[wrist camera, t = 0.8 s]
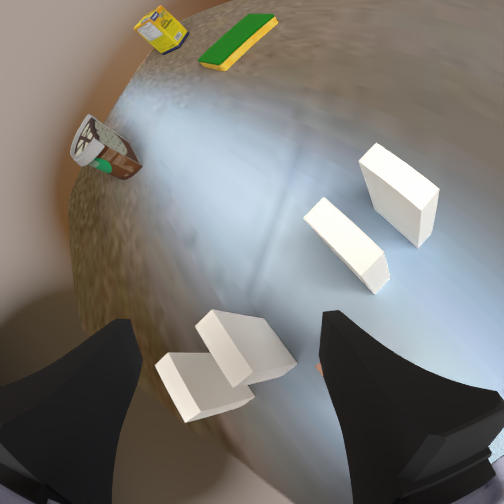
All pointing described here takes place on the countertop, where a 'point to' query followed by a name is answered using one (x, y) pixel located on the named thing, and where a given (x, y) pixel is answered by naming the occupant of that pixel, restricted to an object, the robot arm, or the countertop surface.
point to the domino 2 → (244, 347)
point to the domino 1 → (199, 385)
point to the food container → (104, 149)
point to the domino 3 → (350, 244)
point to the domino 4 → (400, 194)
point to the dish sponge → (237, 41)
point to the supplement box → (162, 30)
